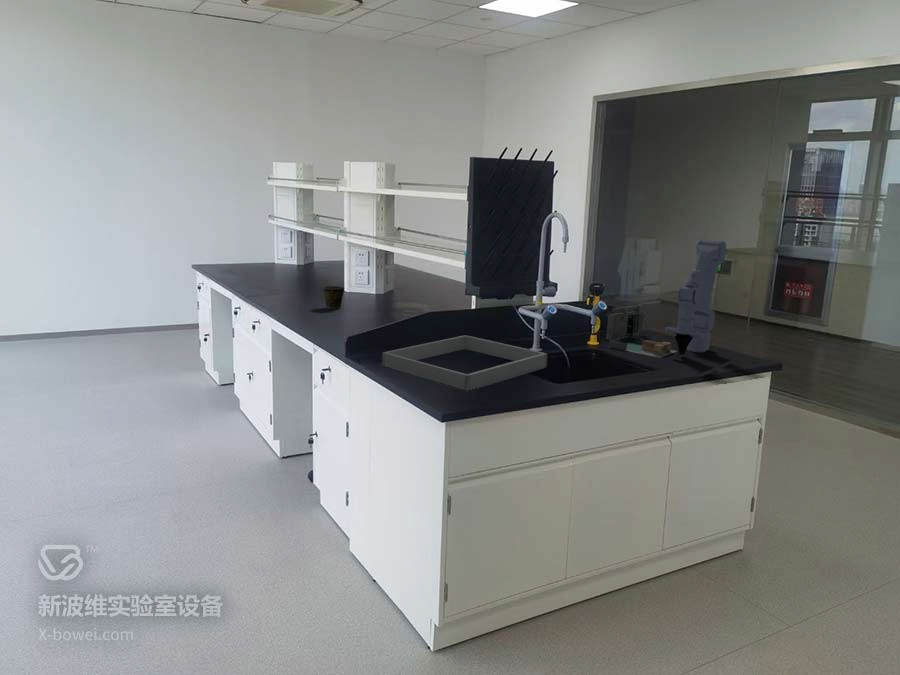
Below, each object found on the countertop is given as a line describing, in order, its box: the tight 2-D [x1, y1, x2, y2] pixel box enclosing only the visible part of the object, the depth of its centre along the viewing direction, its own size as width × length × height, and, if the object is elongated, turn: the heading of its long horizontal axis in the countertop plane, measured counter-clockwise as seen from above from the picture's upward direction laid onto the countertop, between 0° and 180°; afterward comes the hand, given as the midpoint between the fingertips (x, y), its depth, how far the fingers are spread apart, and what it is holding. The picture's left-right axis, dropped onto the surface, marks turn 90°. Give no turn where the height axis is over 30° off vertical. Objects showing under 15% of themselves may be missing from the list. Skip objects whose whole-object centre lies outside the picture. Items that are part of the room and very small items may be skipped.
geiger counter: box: [605, 303, 648, 341], centre depth 299 cm, size 14×6×25 cm
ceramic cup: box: [322, 285, 345, 310], centre depth 336 cm, size 13×10×10 cm
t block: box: [642, 339, 672, 355], centre depth 271 cm, size 9×9×4 cm
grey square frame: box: [381, 334, 548, 392], centre depth 240 cm, size 43×37×5 cm
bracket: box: [607, 336, 645, 351], centre depth 279 cm, size 15×7×2 cm, turn 139°
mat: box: [609, 342, 678, 358], centre depth 274 cm, size 16×22×1 cm
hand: (682, 354), depth 264 cm, fingers closed
